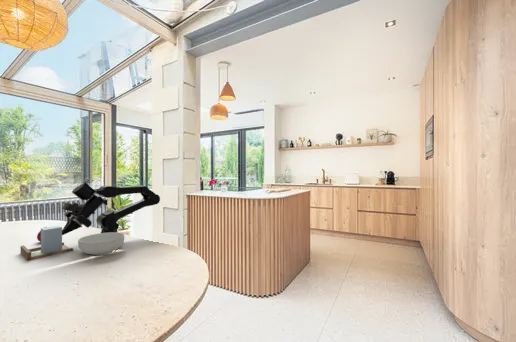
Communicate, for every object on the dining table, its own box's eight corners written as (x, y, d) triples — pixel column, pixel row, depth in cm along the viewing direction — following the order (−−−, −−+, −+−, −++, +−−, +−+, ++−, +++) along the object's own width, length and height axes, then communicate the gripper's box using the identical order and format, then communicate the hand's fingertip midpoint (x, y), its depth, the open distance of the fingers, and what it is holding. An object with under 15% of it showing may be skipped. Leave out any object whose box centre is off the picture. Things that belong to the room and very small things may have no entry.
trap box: (63, 246, 113) (63, 238, 112) (73, 252, 105) (73, 243, 105) (20, 255, 101) (20, 245, 101) (27, 263, 93) (27, 252, 93)
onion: (45, 245, 114) (45, 228, 114) (33, 245, 114) (33, 228, 114) (56, 241, 120) (55, 225, 120) (44, 241, 120) (44, 225, 120)
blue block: (58, 247, 108) (58, 225, 108) (62, 250, 105) (62, 227, 105) (40, 251, 103) (40, 228, 103) (44, 254, 100) (43, 230, 100)
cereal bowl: (132, 247, 112) (132, 232, 112) (106, 260, 96) (106, 243, 96) (98, 246, 114) (98, 231, 114) (67, 259, 98) (67, 241, 97)
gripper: (69, 194, 116) (38, 220, 107) (83, 197, 105) (50, 227, 96) (88, 208, 123) (60, 234, 114) (103, 213, 111) (74, 242, 103)
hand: (61, 234), depth 106 cm, fingers closed
